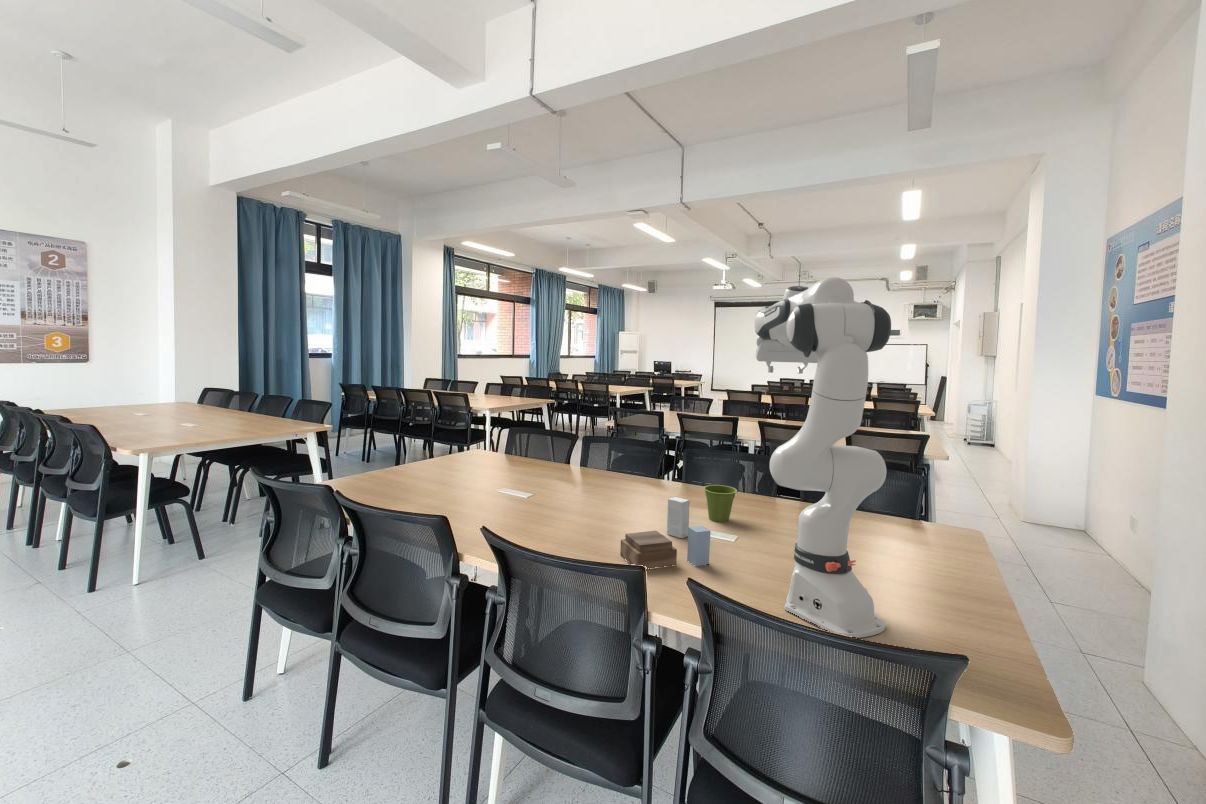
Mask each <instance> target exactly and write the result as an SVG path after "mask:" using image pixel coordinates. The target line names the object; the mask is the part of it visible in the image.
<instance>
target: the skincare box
mask: <svg viewBox="0 0 1206 804" xmlns="http://www.w3.org/2000/svg"><path fill="white" fill-rule="evenodd" d="M690 502H691V501H690V500H689V499H686V498H682V497H676V496H674V497H671V498H667V521H666V522H667V523H666V534H667V535H669V536H672V537H674V538H675V537H676V538H678V539H684V538H686V537H688V527H690Z"/></svg>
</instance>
